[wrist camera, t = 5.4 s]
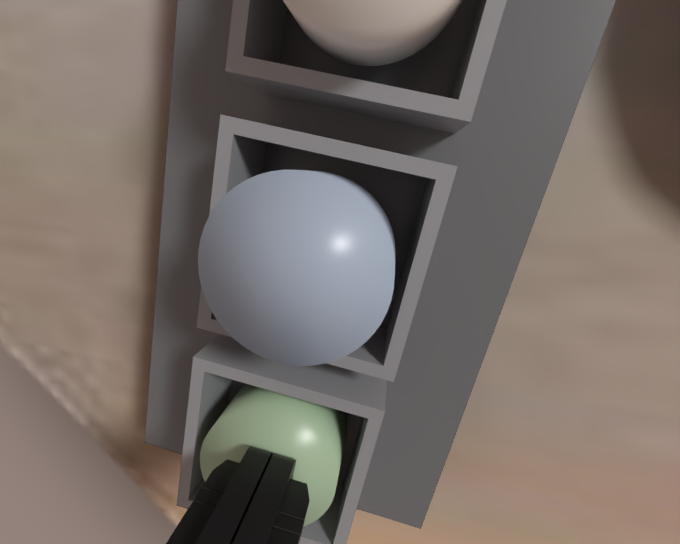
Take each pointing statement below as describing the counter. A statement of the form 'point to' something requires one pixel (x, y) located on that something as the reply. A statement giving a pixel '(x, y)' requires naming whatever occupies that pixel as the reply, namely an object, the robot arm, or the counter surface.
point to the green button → (282, 439)
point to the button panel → (394, 197)
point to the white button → (372, 27)
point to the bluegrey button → (298, 265)
